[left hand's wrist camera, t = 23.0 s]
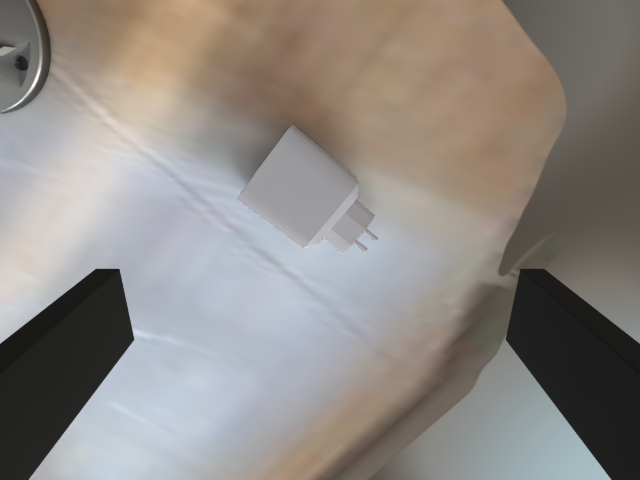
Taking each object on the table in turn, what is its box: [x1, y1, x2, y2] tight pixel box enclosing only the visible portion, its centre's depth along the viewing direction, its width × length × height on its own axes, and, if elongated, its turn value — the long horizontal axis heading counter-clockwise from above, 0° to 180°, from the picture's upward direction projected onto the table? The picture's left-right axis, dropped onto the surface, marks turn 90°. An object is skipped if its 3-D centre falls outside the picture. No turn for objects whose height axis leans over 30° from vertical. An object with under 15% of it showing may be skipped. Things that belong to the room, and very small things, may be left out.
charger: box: [236, 124, 378, 252], centre depth 41 cm, size 5×9×15 cm
